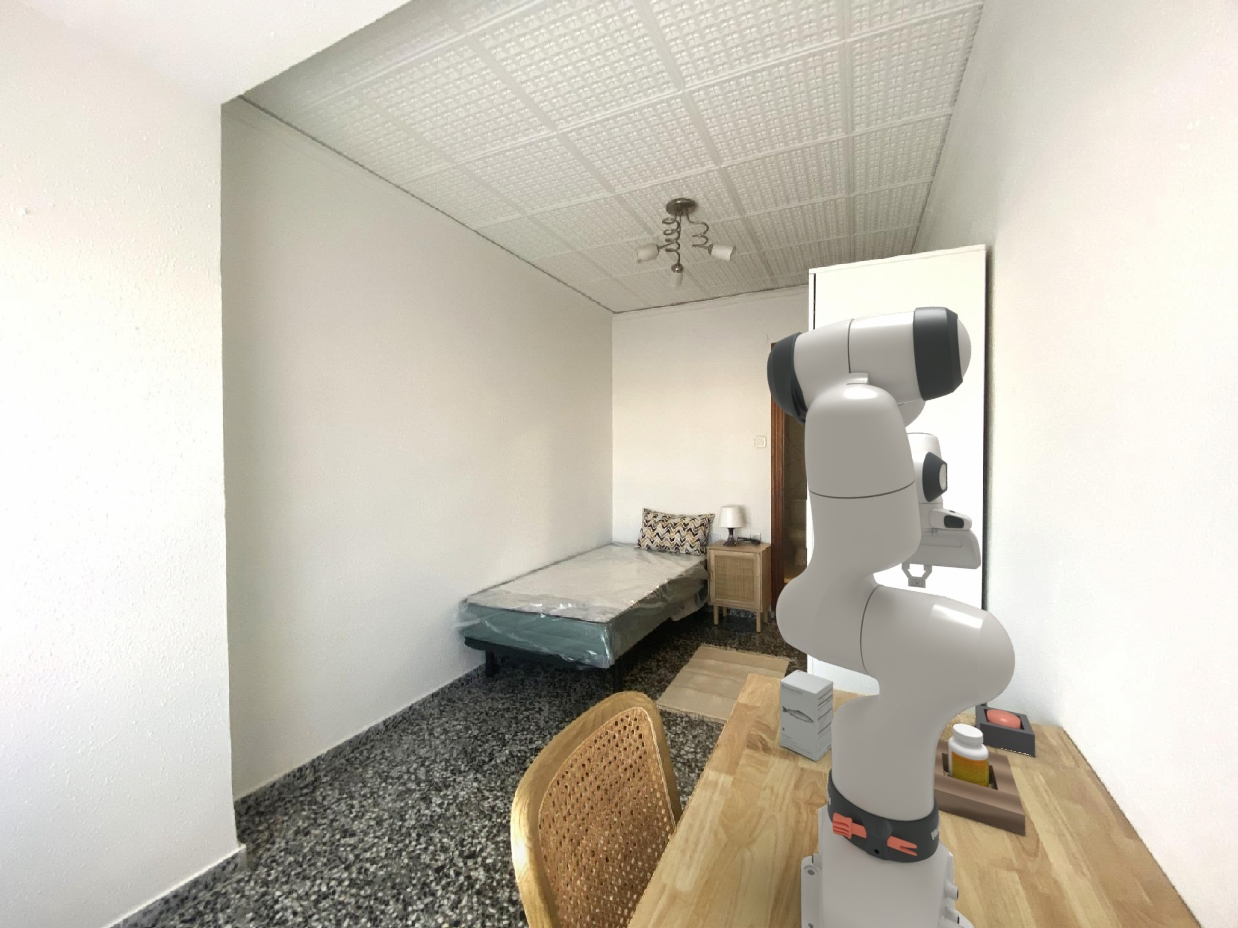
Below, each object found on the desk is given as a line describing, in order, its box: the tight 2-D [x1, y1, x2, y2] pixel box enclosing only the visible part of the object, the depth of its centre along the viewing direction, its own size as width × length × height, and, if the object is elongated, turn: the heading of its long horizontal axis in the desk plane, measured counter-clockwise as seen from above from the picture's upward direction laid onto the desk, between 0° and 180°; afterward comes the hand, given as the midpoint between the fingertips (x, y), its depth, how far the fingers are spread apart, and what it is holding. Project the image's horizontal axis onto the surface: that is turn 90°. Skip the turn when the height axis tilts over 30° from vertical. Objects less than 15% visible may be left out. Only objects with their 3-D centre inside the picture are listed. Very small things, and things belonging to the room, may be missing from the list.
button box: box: [974, 704, 1036, 758], centre depth 92 cm, size 8×8×4 cm
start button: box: [987, 709, 1020, 729], centre depth 92 cm, size 5×5×3 cm
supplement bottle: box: [947, 723, 990, 788], centre depth 79 cm, size 5×5×10 cm
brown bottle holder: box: [934, 738, 1026, 837], centre depth 79 cm, size 16×12×3 cm
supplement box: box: [779, 669, 834, 762], centre depth 91 cm, size 7×7×13 cm
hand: (916, 586), depth 94 cm, fingers closed
